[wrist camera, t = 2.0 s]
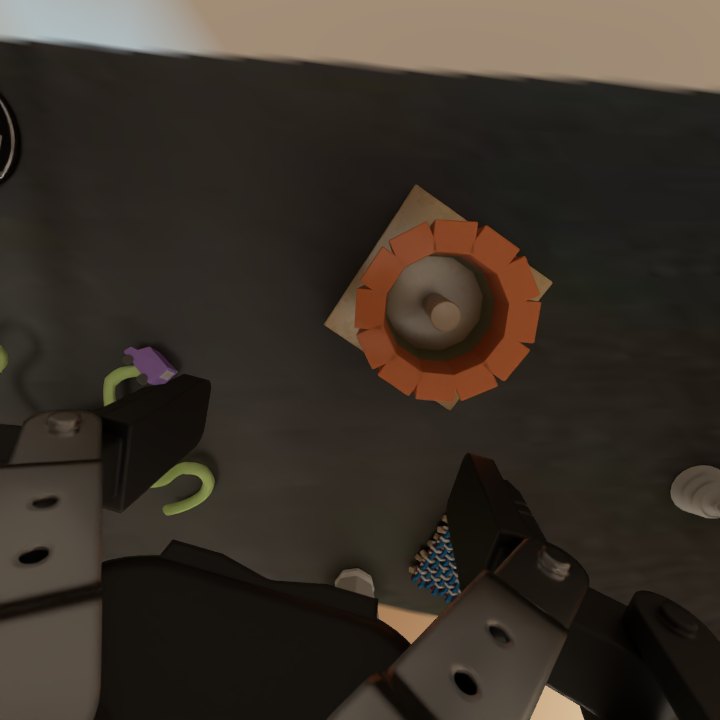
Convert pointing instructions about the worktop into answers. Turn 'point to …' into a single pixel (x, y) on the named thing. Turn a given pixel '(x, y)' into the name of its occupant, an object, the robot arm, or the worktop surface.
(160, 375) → the figurine
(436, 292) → the ring stand
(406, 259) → the orange ring
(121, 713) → the robot arm
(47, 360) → the worktop surface
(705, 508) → the chalice
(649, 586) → the worktop surface
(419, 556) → the woven mat
